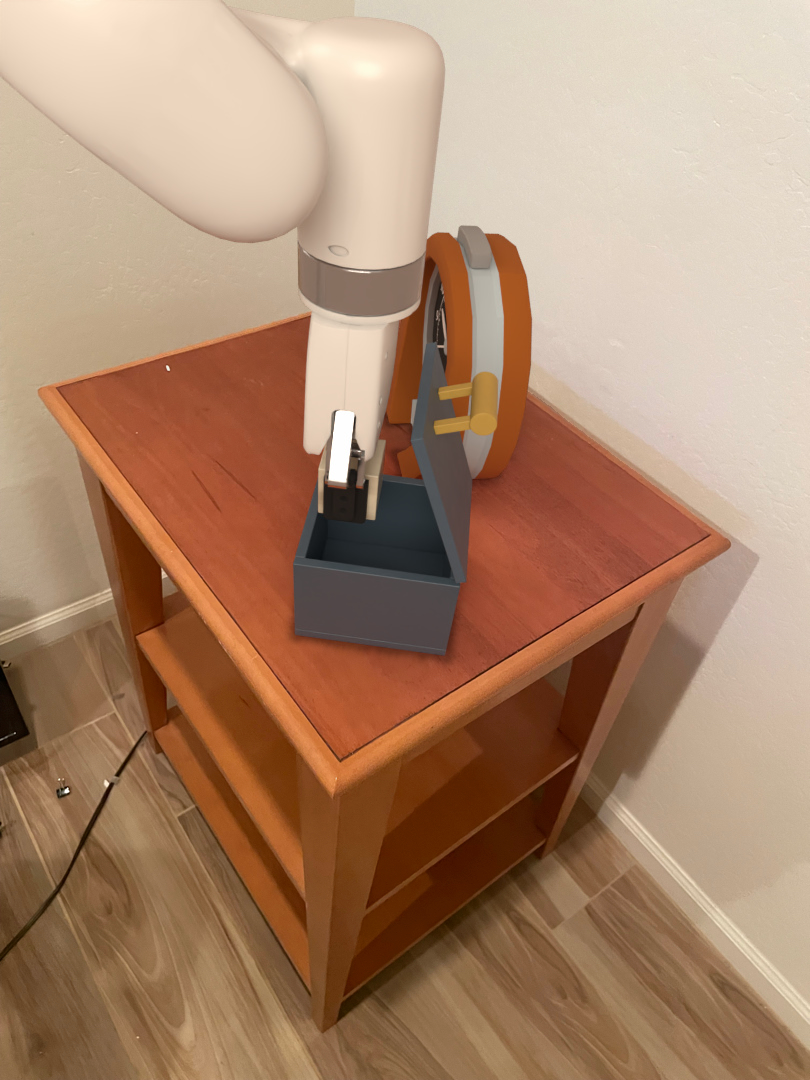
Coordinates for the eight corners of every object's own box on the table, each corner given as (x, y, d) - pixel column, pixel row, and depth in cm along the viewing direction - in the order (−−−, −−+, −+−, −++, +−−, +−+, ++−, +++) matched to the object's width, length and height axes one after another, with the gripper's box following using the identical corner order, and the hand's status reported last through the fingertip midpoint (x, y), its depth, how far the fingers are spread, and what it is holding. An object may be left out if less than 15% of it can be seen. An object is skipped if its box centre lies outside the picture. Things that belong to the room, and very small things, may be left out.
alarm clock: (378, 380, 88) (394, 184, 72) (458, 379, 90) (490, 187, 74) (409, 507, 73) (438, 294, 57) (504, 502, 75) (558, 295, 59)
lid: (410, 440, 45) (490, 428, 44) (425, 343, 53) (493, 331, 52) (455, 583, 54) (523, 577, 53) (463, 482, 62) (522, 474, 61)
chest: (294, 635, 61) (292, 563, 54) (320, 537, 69) (321, 465, 63) (445, 656, 61) (460, 587, 54) (452, 555, 69) (467, 485, 63)
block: (317, 513, 56) (318, 468, 52) (328, 475, 59) (328, 431, 55) (375, 521, 56) (378, 477, 52) (382, 483, 59) (386, 439, 55)
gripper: (324, 209, 50) (322, 425, 63) (265, 335, 38) (278, 569, 51) (433, 223, 50) (408, 437, 63) (408, 354, 38) (384, 583, 51)
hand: (350, 494), depth 57 cm, fingers closed on block, 4 cm apart
